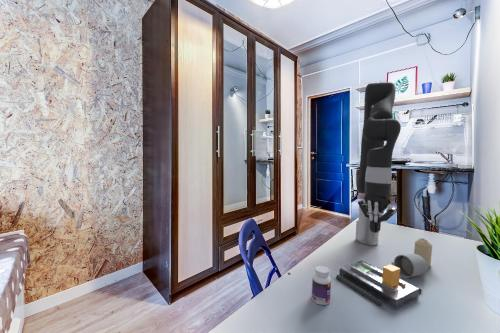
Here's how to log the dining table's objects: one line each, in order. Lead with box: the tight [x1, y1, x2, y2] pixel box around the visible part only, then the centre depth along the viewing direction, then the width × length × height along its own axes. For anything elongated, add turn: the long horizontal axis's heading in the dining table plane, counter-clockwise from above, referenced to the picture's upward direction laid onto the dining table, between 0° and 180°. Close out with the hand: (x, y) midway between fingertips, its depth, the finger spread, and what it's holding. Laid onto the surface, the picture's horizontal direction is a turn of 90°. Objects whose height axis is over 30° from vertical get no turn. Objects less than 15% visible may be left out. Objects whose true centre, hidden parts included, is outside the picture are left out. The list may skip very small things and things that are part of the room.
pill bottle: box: [311, 265, 332, 306], centre depth 70 cm, size 5×5×10 cm
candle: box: [413, 238, 433, 268], centre depth 93 cm, size 6×6×10 cm
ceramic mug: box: [391, 253, 428, 279], centre depth 86 cm, size 11×8×8 cm
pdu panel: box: [338, 259, 420, 310], centre depth 78 cm, size 20×12×4 cm, turn 28°
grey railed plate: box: [335, 263, 423, 307], centre depth 78 cm, size 18×19×1 cm
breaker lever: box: [382, 263, 401, 287], centre depth 73 cm, size 3×4×5 cm
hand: (374, 231), depth 77 cm, fingers closed
